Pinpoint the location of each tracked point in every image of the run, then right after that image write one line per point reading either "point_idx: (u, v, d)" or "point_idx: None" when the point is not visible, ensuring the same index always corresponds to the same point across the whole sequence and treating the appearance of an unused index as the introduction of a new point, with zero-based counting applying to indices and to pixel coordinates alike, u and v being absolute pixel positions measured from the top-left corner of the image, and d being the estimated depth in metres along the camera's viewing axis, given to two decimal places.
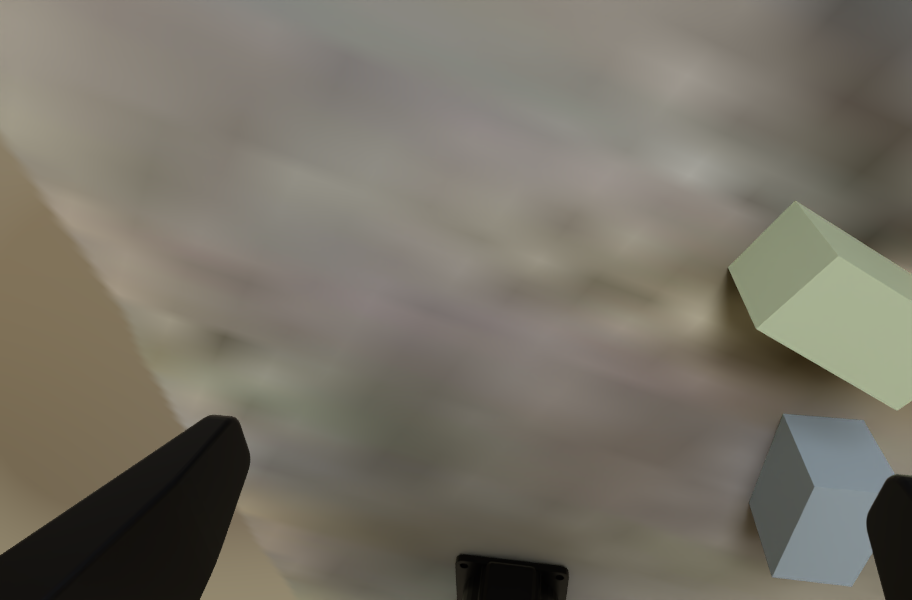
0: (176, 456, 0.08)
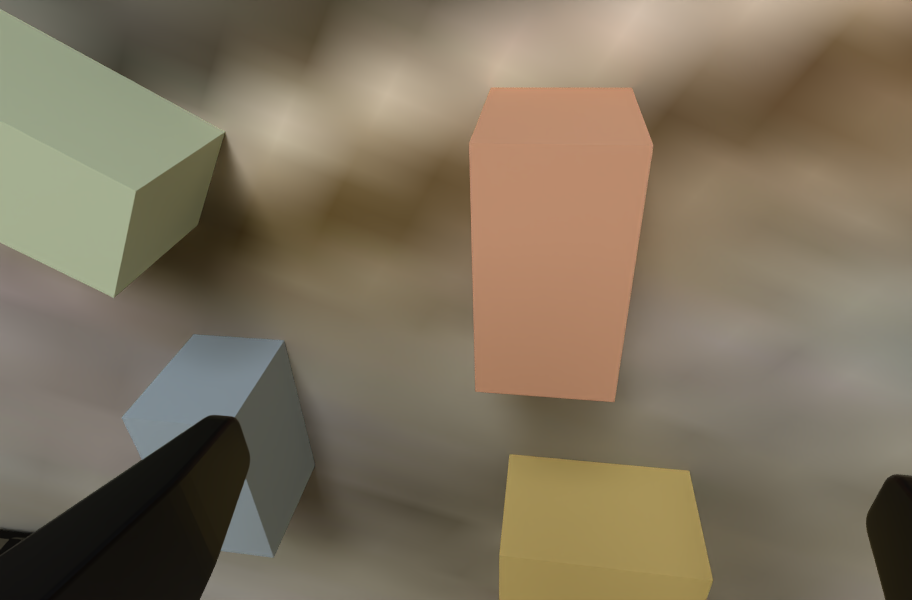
0: (176, 456, 0.08)
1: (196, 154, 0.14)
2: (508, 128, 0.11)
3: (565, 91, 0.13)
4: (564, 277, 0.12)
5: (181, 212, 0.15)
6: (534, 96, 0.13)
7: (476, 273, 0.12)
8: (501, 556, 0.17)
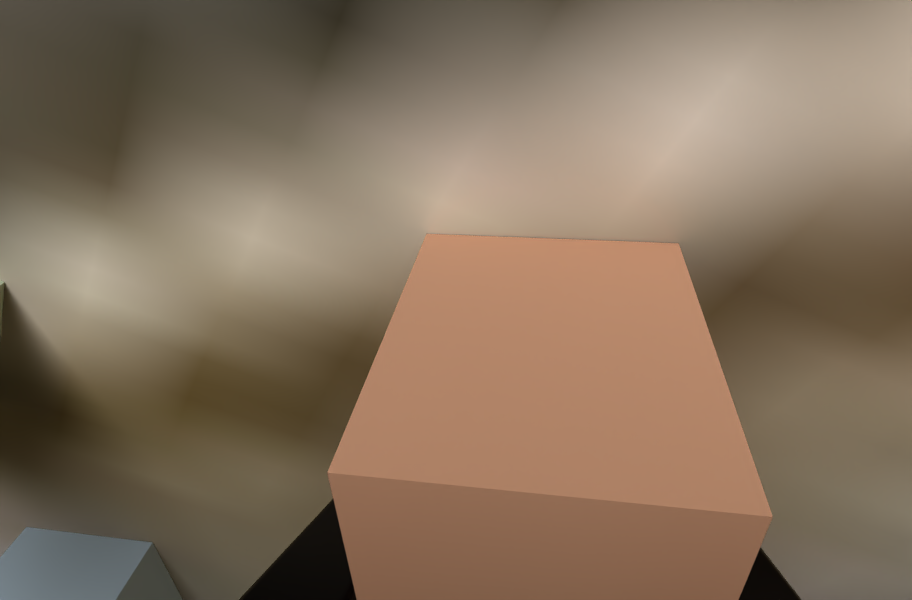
0: None
1: None
2: (431, 399, 0.05)
3: (558, 255, 0.07)
4: None
5: None
6: (499, 271, 0.07)
7: None
8: None
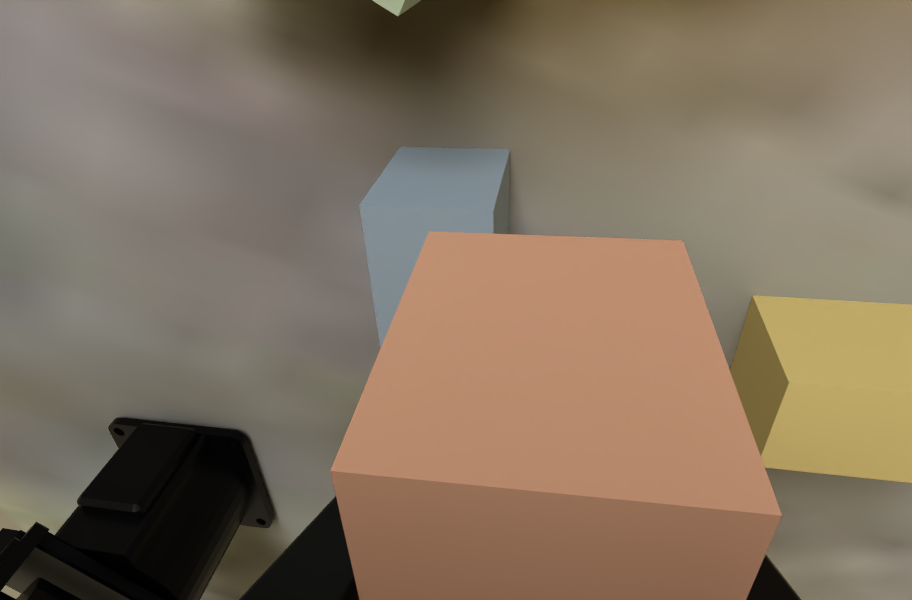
0: None
1: None
2: (435, 397, 0.05)
3: (561, 252, 0.07)
4: None
5: None
6: (503, 268, 0.07)
7: None
8: (791, 384, 0.15)
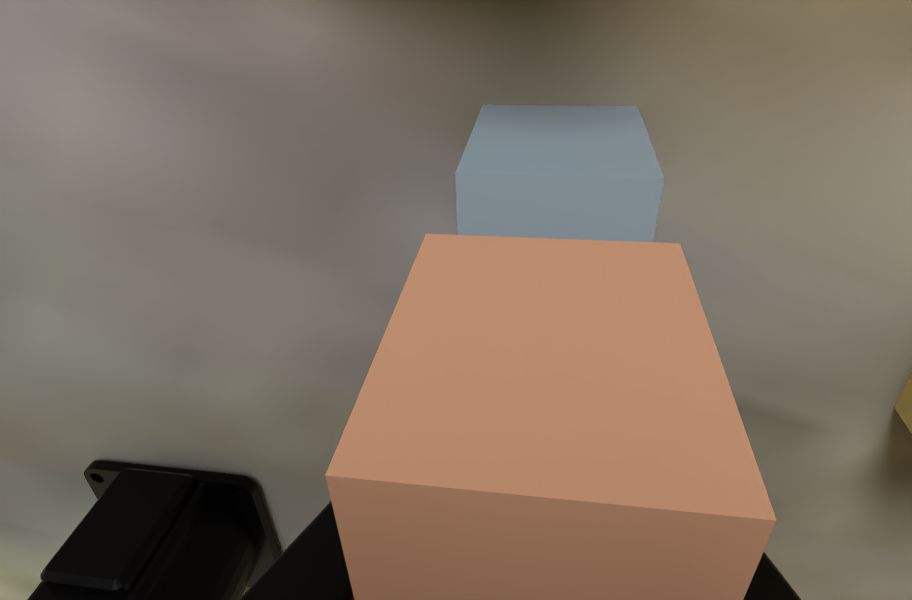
0: None
1: None
2: (431, 400, 0.05)
3: (558, 255, 0.07)
4: None
5: None
6: (499, 271, 0.07)
7: None
8: None
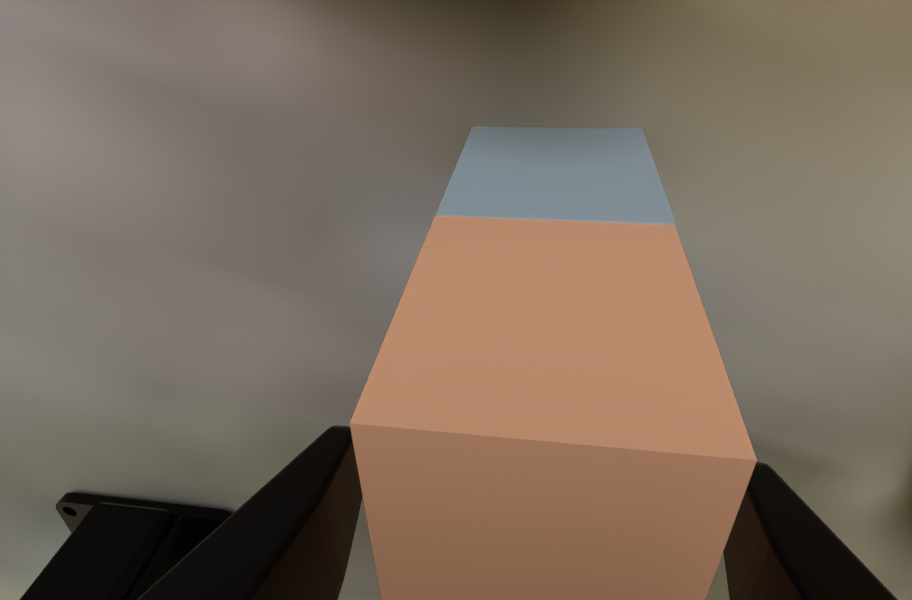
0: (313, 470, 0.07)
1: None
2: (444, 361, 0.06)
3: (560, 235, 0.08)
4: None
5: None
6: (505, 250, 0.07)
7: None
8: None
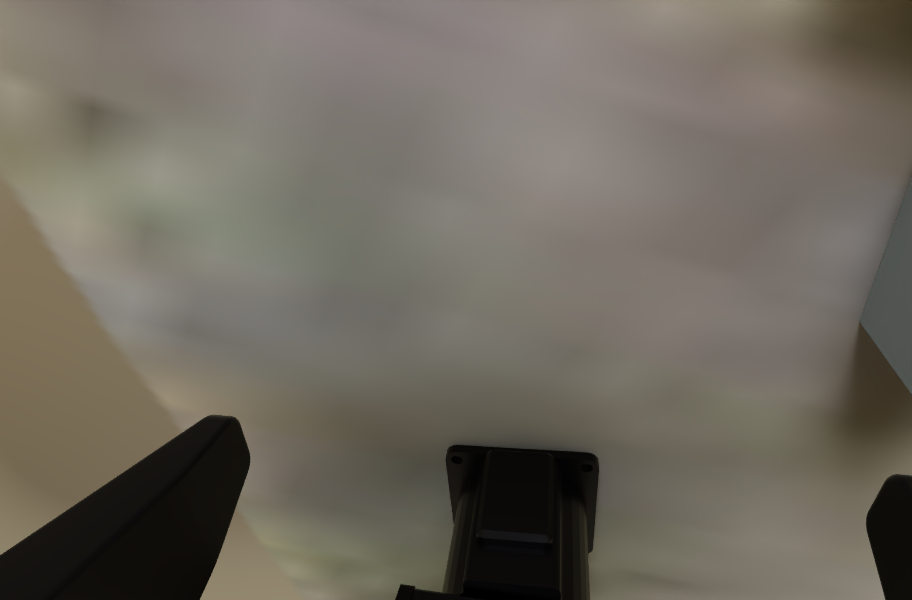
0: (176, 456, 0.08)
1: None
2: None
3: None
4: None
5: None
6: None
7: None
8: None
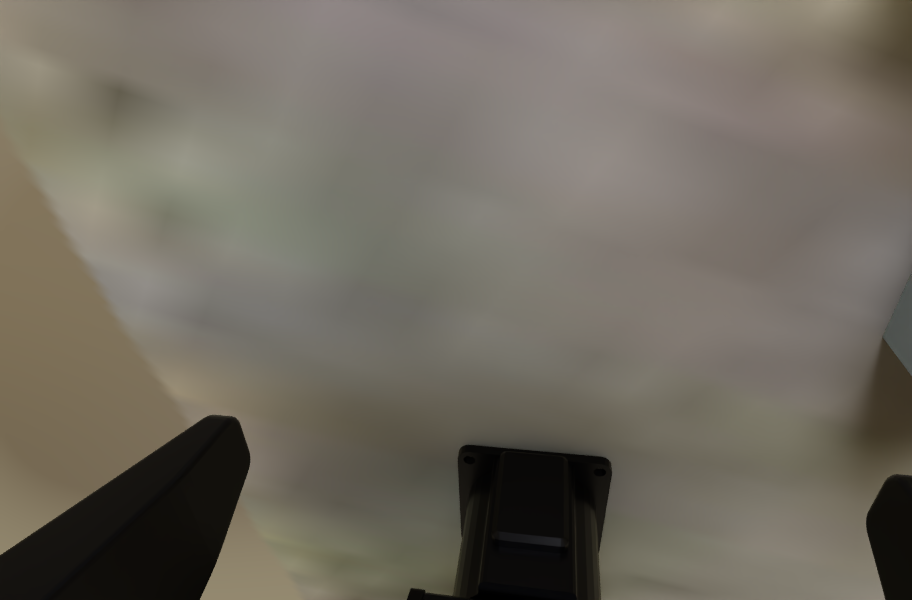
0: (176, 456, 0.08)
1: None
2: None
3: None
4: None
5: None
6: None
7: None
8: None
